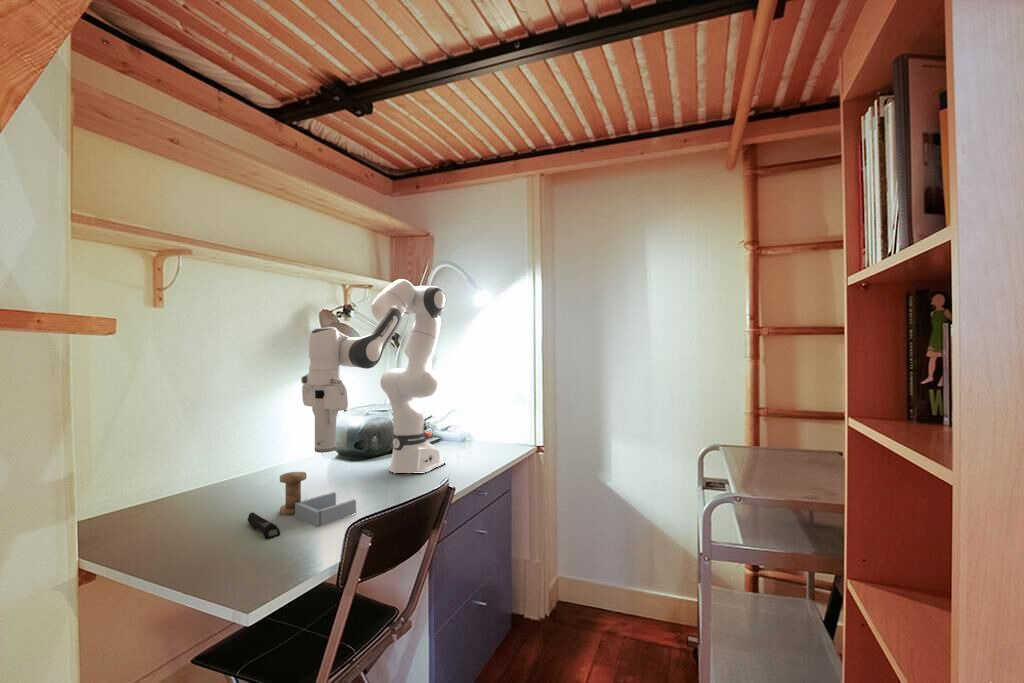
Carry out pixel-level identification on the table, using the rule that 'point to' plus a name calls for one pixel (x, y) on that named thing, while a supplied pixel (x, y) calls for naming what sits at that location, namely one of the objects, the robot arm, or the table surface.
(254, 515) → the electric trimmer
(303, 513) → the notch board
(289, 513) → the bobbin
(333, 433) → the travel mug
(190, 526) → the table surface
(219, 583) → the table surface
